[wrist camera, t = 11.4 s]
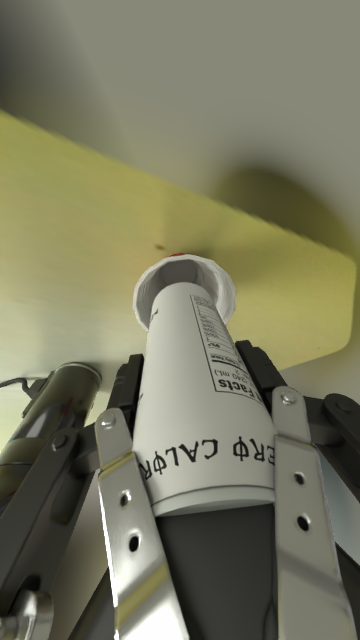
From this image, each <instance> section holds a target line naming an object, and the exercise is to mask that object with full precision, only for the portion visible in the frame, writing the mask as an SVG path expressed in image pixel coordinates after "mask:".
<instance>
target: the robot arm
mask: <svg viewBox="0 0 360 640" xmlns="http://www.w3.org/2000/svg"><path fill="white" fill-rule="evenodd" d="M235 346H236V348H237V350H238V352H239V354H240V356H241V358H242V360H243V362H244V364H245V366H246V369H247V371H248V373H249V375H250V377H251V379H252V381H253V383H254V385H255V387H256V389H257V391H258V393H259V395H260V397H261V399H262V401H263V403H264V405H265V407H266V409H267V411H268V413H269V415H270V417H271V419H272V422H273V424H274V426H275V428H276V430H277V433H278V434H274V455H273V488H274V495H275V502H273V501H272V503H269V504H262V505H256V506H247V507H239V508H231V509H223V510H215V511H207V512H199V513H191V514H183V515H175V516H164V517H158V516H157V517H154V514H153V511H152V505H151V501H150V498H149V495H148V492H147V488H146V485H145V482H144V479H143V476H142V473H141V470H140V467H139V464H138V461H137V458H136V455H135V452H134V451H132V448H133V442H132V439H133V433H134V426H135V419H136V413H137V406H138V399H139V392H140V386H141V379H142V372H143V366H144V357H143V354H135V355H130V357H129V362H128V364H123V365H122V366H121V367H120V369H119V370H118V372H117V376H116V379H115V382H114V386H113V389H112V392H111V396H110V399H109V402H108V406H107V409H106V410H105V411H104V412H103V413H101V414H100V416H99V417H98V418H97V420H96V422H94V423H93V424H91V425H88V426H86V427H84V426H85V424H86V421H87V418H88V416H89V413H90V410H91V409H92V407H93V404H94V403H93V402H94V400H95V397H96V394H97V392H98V390H99V388H100V385H101V381H102V380H101V376H100V375H99V373H98V372H97V371H96V370H95V369H93V368H92V367H90V366H87V365H85V364H81V363H67V364H64V365H61V366H60V367H58V368H57V370H56V371H52V372H51V373H50V374H49V376H48V377H47V378H45V379H37V380H36V381H35V382H34V383H33V384H32V386H31V387H30V388H28V386H27V380H25V379H23V378H17V379H12V380H9V381H6V382H3V383H1V384H0V388H1V387H4V386H7V385H9V384H12V383H16V382H20V383H22V389H23V391H24V392H26V393H27V394H28V395H29V397H30V398H31V399H32V400H31V401H30V403H29V404H28V406H27V407H26V408H25V410H24V411H23V413H22V415H21V416H22V418H23V421H22V422H21V424H20V425H19V426H18V428H17V429H16V431H15V432H14V434H13V435H12V437H11V438H10V440H9V441H8V443H7V444H6V446H5V447H4V449H3V450H2V452H1V453H0V640H48V637H49V633H50V629H51V626H52V620H53V611H54V607H53V600H52V598H51V596H50V592H51V589H52V586H53V584H54V581H55V578H56V576H57V573H58V570H59V568H60V565H61V562H62V559H63V557H64V554H65V551H66V549H67V546H68V543H69V541H70V538H71V535H72V533H73V530H74V527H75V525H76V522H77V519H78V517H79V514H80V511H81V508H82V506H83V503H84V500H85V498H86V495H87V492H88V489H89V487H90V484H91V482H92V479H93V476H94V474H95V471H96V470H97V469H99V468H101V471H100V473H99V474H98V486H99V493H100V500H101V508H102V516H103V523H104V530H105V538H106V545H107V552H108V560H109V567H108V568H107V570H106V572H105V574H104V575H103V577H102V579H101V581H100V583H99V584H98V586H97V588H96V590H95V591H94V593H93V595H92V597H91V599H90V600H89V602H88V604H87V606H86V607H85V610H84V611H83V613H82V615H81V616H80V618H79V620H78V622H77V624H76V625H75V627H74V629H73V631H72V632H71V634H70V636H69V638H68V640H360V565H359V564H358V563H356V562H355V561H354V560H353V559H352V558H351V557H350V556H349V555H348V554H347V553H346V552H345V551H344V550H343V549H342V548H341V547H340V546H339V545H338V544H337V543H336V542H335V541H334V535H333V531H332V525H331V519H330V514H329V508H328V502H327V497H326V491H325V485H324V480H323V474H322V469H321V463H320V458H319V453H318V450H317V448H316V447H315V446H313V445H312V442H313V443H315V445H316V446H317V447H318V448H319V450H320V451H321V452H322V454H323V455H324V457H325V458H326V459H327V460H328V462H329V463H330V464H331V466H332V467H333V468H334V470H335V471H336V472H337V474H338V475H339V476H340V478H341V479H342V480H343V482H344V483H345V484H346V486H347V487H348V488H349V490H350V491H351V492H352V494H353V495H354V496H355V497H356V499H357V500H358V501H359V503H360V405H359V404H357V403H356V402H355V401H354V400H352V399H351V398H348V397H347V396H344V395H341V394H334V393H333V394H329V395H327V396H326V397H325V399H317V398H310V397H305V396H302V395H301V394H300V393H299V392H298V391H296V390H295V389H293V388H291V387H288V386H287V384H286V382H285V381H284V379H283V378H282V377H281V375H280V374H279V372H278V371H277V369H276V368H275V366H274V365H273V363H272V362H271V360H269V357H268V356H267V354H266V353H265V352H264V351H263V350H262V349H260V348H259V347H253V346H252V345H251V343H250V342H249V340H243V341H236V343H235Z"/></svg>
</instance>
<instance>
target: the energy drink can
mask: <svg viewBox="0 0 360 640" xmlns="http://www.w3.org/2000/svg"><path fill="white" fill-rule="evenodd" d="M274 434H278V433H277V430H276V428H275V426H274V424H273V422H272V419H271V417H270V415H269V413H268V411H267V409H266V407H265V405H264V403H263V401H262V399H261V397H260V395H259V393H258V391H257V389H256V387H255V385H254V383H253V381H252V379H251V377H250V375H249V373H248V371H247V369H246V366H245V364H244V362H243V360H242V358H241V356H240V354H239V352H238V350H237V348H236V346H235V344H234V342H233V340H232V338H231V336H230V334H229V332H228V330H227V328H226V326H225V324H224V322H223V320H222V318H221V316H220V314H219V312H218V310H217V308H216V306H215V304H214V302H213V300H212V298H211V296H210V295H209V294H208V292H207V291H206V290H205V289H203V288H202V287H200V286H199V285H196V284H193V283H187V282H181V283H175V284H172V285H170V286H168V287H166V288H164V289H163V290H162V291H161V292H160V293H159V294H158V295H157V296H156V298H155V300H154V302H153V305H152V312H151V319H150V325H149V332H148V339H147V345H146V352H145V359H144V366H143V372H142V379H141V386H140V392H139V399H138V406H137V413H136V419H135V426H134V433H133V439H132V442H133V448H132V451H134V452H135V455H136V458H137V461H138V464H139V467H140V470H141V473H142V476H143V479H144V482H145V485H146V488H147V492H148V495H149V498H150V501H151V505H152V511H153V514H154V517H157V516H158V517H164V516H175V515H183V514H191V513H199V512H207V511H215V510H223V509H231V508H239V507H247V506H256V505H262V504H269V503H272V501H273V502H275V495H274V488H273V455H274Z"/></svg>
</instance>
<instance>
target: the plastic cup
mask: <svg viewBox="0 0 360 640" xmlns="http://www.w3.org/2000/svg"><path fill="white" fill-rule="evenodd" d="M181 282H187V283H193V284H196V285H199V286H200V287H202V288H203V289H205V290H206V291H207V292H208V294H209V295H210V296H211V298H212V300H213V302H214V304H215V306H216V308H217V310H218V312H219V314H220V316H221V318H222V320H223V322H224V324H225V326H226V325H227V324H228V322H229V321H230V319H231V317H232V315H233V313H234V311H235V306H236V290H235V287H234V285H233V283H232V280H231V278H230V276H229V274H228V273H227V272H226V271H225V270H223V269H222V268H221V267H220V266H219V265H217V264H216V263H215V262H214V261H213V260H209V259H206V258H202V257H198V256H195V255H191V254H187V255H185V254H174V255H171V256H170V257H166V258H165V259H163V260H161V261H160V262H158V263H156V264H155V265H153V266H151V267H150V268H148V269H146V271H145V272H144V274H143V275H142V277H141V278H140V280H139V281H138V283H137V284H136V285H135V289H134V296H133V303H132V305H133V309H134V312H135V315H136V318H137V321H138V322H139V323H140V325H141V326H142V327H143V328H144V329H145V330H146V331H147V332H149V325H150V319H151V312H152V305H153V302H154V300H155V298H156V296H157V295H158V294H159V293H160V292H161V291H162V290H163V289H164V288H166V287H168V286H170V285H172V284H175V283H181Z"/></svg>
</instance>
